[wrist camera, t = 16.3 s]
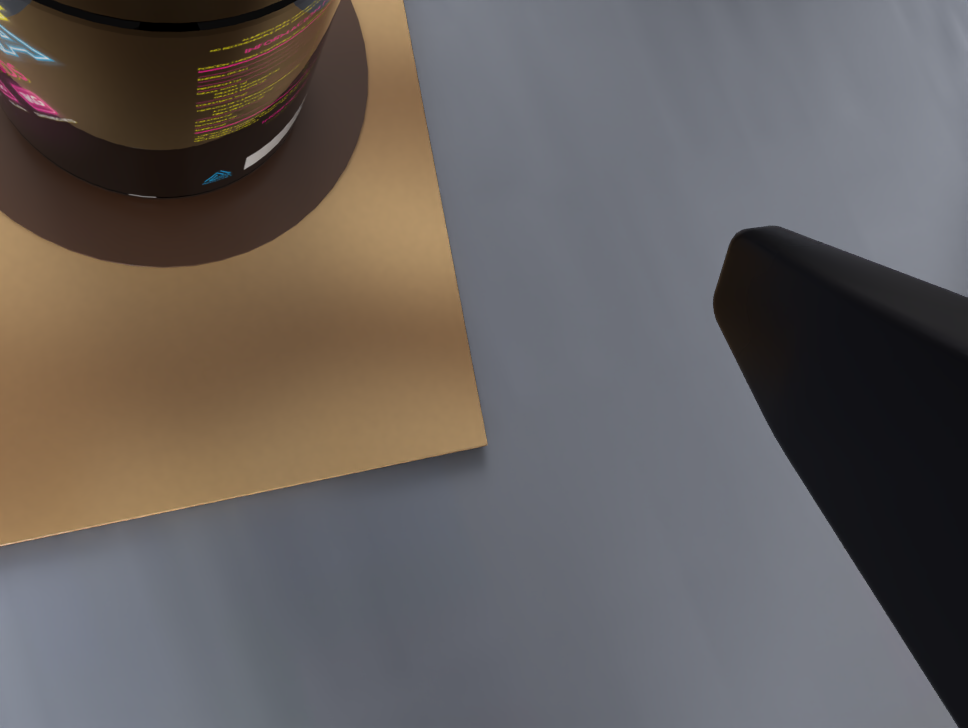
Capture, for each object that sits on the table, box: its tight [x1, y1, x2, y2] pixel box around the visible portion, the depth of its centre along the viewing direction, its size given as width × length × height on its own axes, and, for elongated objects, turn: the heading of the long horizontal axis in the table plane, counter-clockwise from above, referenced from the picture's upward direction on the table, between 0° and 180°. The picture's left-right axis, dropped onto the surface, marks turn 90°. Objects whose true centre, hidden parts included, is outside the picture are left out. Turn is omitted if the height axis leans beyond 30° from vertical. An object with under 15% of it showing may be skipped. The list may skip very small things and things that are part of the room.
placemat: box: [0, 0, 488, 546], centre depth 21 cm, size 20×12×1 cm, turn 12°
